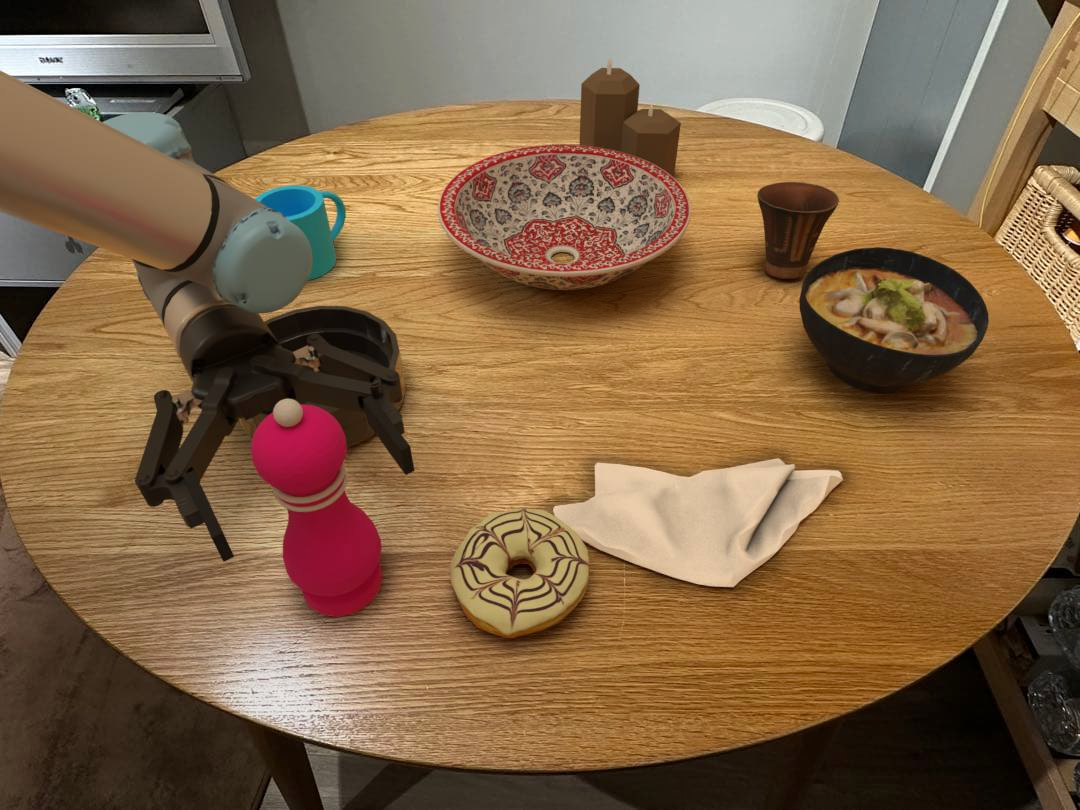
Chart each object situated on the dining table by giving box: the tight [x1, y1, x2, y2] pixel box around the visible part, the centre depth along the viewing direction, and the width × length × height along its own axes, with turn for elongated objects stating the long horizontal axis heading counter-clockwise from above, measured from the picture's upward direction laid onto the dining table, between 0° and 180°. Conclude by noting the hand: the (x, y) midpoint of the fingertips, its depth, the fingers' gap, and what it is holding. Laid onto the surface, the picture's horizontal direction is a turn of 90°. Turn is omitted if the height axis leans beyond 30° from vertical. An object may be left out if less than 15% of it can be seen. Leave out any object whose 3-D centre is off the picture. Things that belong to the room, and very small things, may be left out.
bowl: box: [798, 246, 990, 393], centre depth 77 cm, size 17×17×10 cm
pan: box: [238, 305, 407, 449], centre depth 75 cm, size 16×16×6 cm
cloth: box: [552, 457, 844, 588], centre depth 65 cm, size 26×14×2 cm, turn 91°
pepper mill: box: [250, 399, 383, 617], centre depth 55 cm, size 7×7×20 cm
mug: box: [254, 184, 347, 282], centre depth 93 cm, size 12×8×8 cm
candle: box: [578, 57, 682, 178], centre depth 105 cm, size 14×14×15 cm
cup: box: [756, 181, 840, 280], centre depth 90 cm, size 9×9×10 cm
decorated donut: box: [449, 507, 590, 639], centre depth 60 cm, size 10×11×4 cm
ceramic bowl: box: [437, 144, 692, 291], centre depth 92 cm, size 29×29×8 cm
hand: (320, 502), depth 54 cm, fingers open, 13 cm apart
